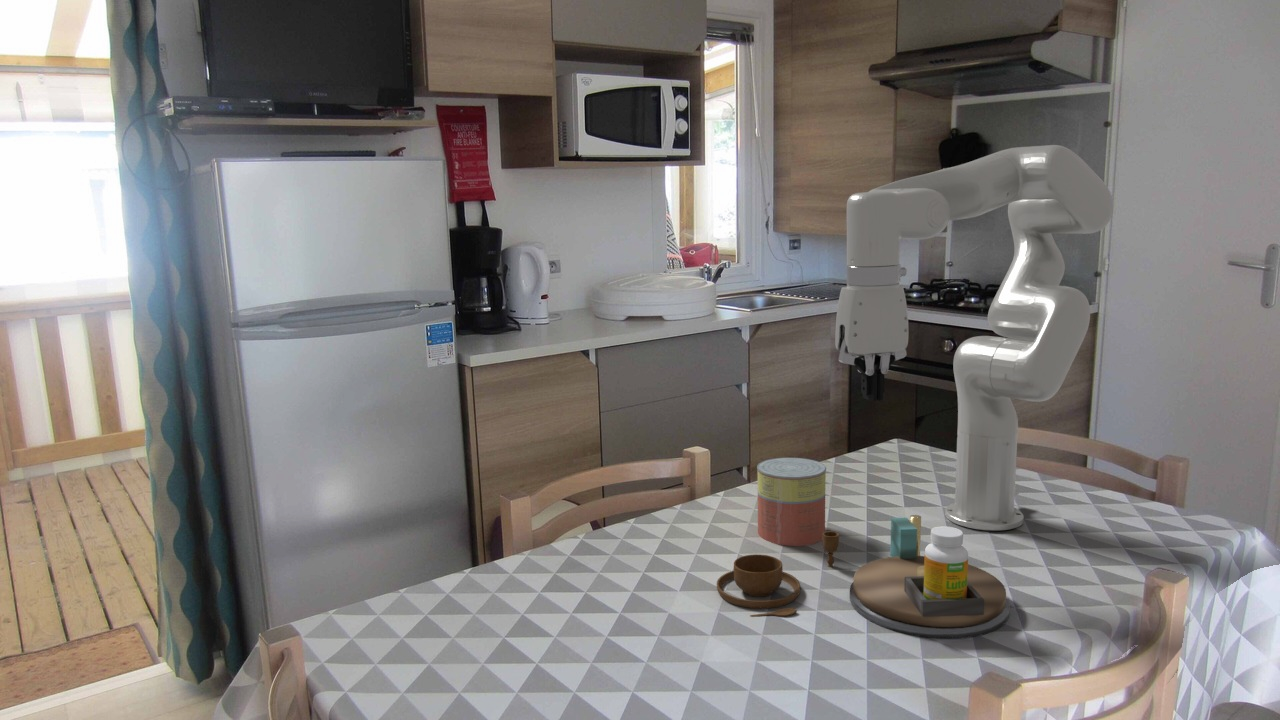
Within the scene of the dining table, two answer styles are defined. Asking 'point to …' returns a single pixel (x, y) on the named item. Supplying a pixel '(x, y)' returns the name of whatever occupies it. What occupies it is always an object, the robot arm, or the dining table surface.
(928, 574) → the supplement bottle
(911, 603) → the turntable plate
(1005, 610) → the flange base
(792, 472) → the canned food
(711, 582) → the dining table surface
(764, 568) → the place setting
